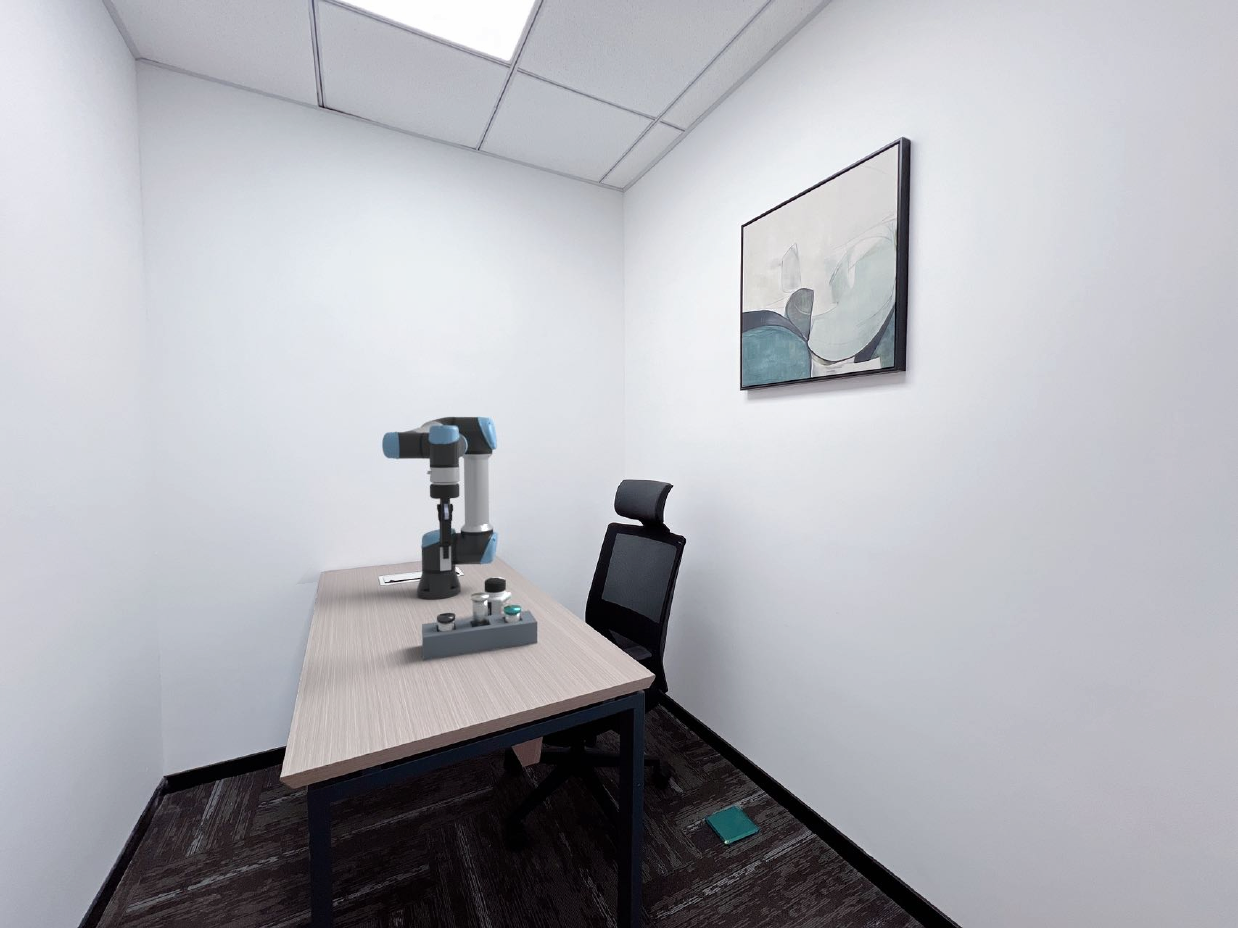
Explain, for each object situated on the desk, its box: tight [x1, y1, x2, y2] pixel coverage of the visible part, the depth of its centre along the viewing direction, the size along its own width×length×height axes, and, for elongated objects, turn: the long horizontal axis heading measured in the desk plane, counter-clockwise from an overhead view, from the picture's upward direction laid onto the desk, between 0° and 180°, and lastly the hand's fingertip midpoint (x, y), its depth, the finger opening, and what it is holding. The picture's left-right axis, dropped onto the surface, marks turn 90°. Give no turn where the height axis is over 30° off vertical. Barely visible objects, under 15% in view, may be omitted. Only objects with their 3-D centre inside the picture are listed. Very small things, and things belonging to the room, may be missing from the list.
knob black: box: [436, 612, 456, 632], centre depth 138 cm, size 5×5×8 cm
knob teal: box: [504, 604, 522, 623], centre depth 145 cm, size 5×5×8 cm
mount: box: [421, 610, 538, 661], centre depth 141 cm, size 10×30×6 cm, turn 113°
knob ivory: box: [470, 592, 489, 627], centre depth 141 cm, size 5×5×8 cm
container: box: [484, 576, 512, 616], centre depth 160 cm, size 8×8×13 cm
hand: (445, 569), depth 137 cm, fingers closed
